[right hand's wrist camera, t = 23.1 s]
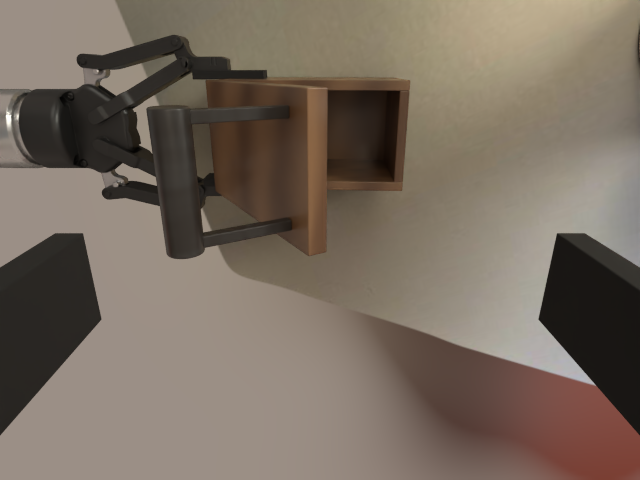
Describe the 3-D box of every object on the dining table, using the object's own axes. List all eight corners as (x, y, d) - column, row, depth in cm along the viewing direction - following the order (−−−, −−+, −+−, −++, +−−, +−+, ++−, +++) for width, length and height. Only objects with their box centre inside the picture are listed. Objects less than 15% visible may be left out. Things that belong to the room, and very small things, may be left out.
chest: (394, 77, 46) (410, 80, 36) (389, 165, 50) (402, 191, 39) (243, 77, 47) (215, 79, 36) (248, 163, 50) (224, 188, 40)
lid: (328, 87, 23) (154, 90, 18) (326, 252, 26) (180, 287, 22) (220, 79, 36) (105, 81, 32) (228, 189, 39) (126, 203, 35)
